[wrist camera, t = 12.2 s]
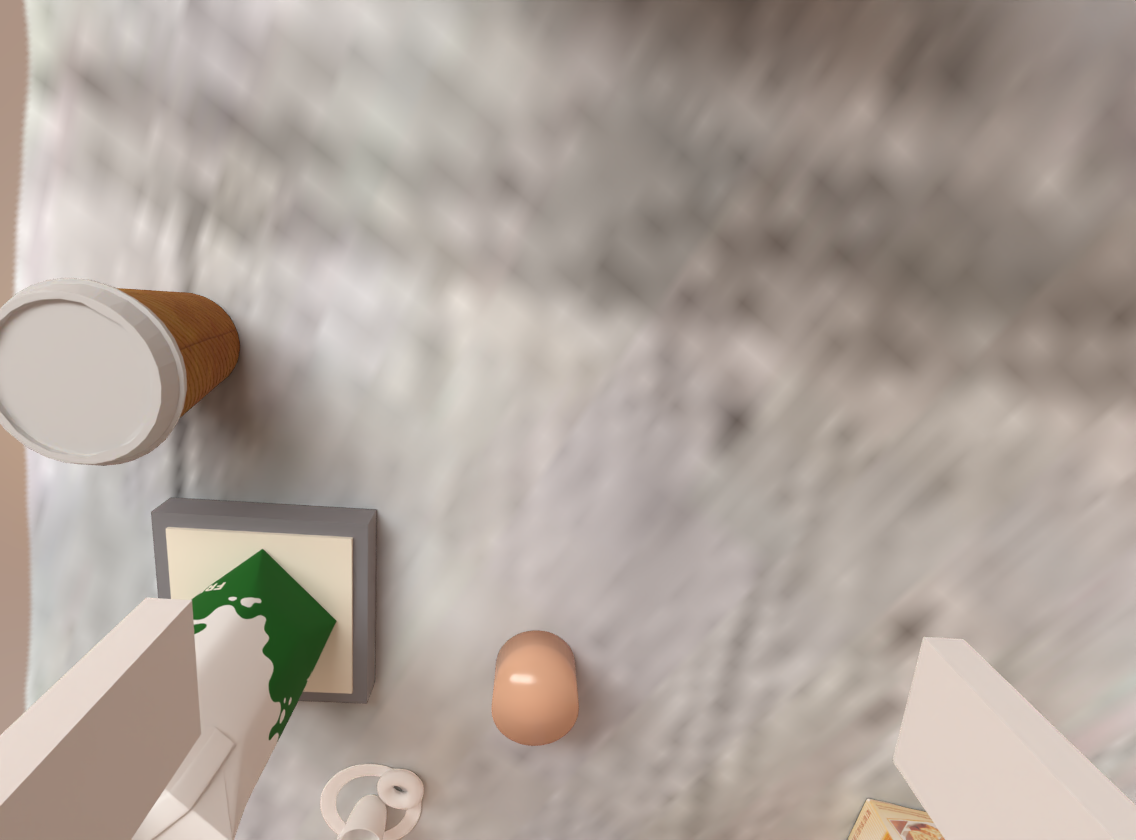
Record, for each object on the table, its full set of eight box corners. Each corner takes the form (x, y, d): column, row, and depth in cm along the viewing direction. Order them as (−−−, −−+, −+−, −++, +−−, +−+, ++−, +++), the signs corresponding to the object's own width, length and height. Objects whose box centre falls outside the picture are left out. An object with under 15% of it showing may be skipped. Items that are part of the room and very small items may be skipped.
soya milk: (262, 530, 45) (60, 752, 26) (357, 623, 48) (234, 892, 28) (168, 605, 47) (-92, 871, 27) (265, 693, 49) (87, 997, 29)
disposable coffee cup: (111, 397, 45) (-34, 454, 34) (117, 251, 43) (-37, 260, 32) (258, 424, 46) (166, 489, 35) (272, 283, 44) (178, 303, 32)
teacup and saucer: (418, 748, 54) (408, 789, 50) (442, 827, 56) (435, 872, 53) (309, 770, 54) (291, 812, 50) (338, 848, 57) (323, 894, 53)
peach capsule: (498, 628, 51) (493, 669, 47) (578, 631, 52) (582, 673, 47) (493, 697, 53) (489, 744, 48) (571, 700, 53) (575, 747, 48)
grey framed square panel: (170, 497, 47) (148, 513, 45) (376, 509, 48) (367, 526, 46) (183, 673, 51) (164, 698, 48) (375, 681, 52) (366, 706, 49)
